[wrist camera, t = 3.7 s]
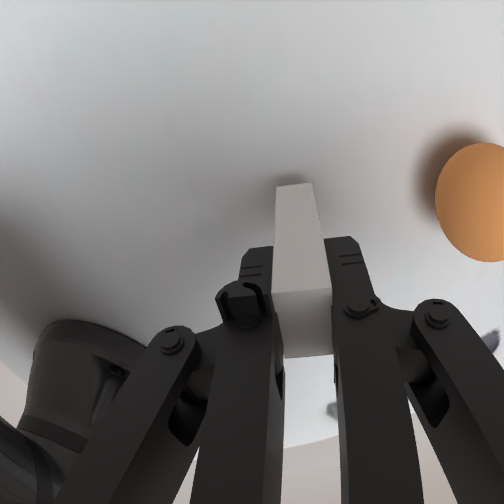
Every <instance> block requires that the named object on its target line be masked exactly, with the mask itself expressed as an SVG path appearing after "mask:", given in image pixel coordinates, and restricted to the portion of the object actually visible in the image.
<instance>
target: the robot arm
mask: <svg viewBox="0 0 504 504" xmlns="http://www.w3.org/2000/svg"><path fill="white" fill-rule="evenodd" d="M240 269H241V270H240V273H239V278H238V280H237V281H233V282H231V283H229V284H227V285H225V286H224V287H223V288H222V289H221V290H220V291H219V292H218V293H217V295H216V297H215V300H216V303H217V306H218V309H219V311H220V314H221V317H222V319H223V323H222V324H220V325H219V326H217V327H215V328H212V329H210V330H207V331H203V332H200V333H197V334H194V333H193V332H192V330H191V329H190V328H187V327H185V326H172V327H168V328H165V329H164V330H162V331H160V332H159V333H158V334H157V335H156V336H155V337H154V338H153V339H152V341H151V342H150V344H149V345H148V347H147V348H144V347H143V346H141V345H139V344H138V343H136V342H134V341H132V340H130V339H128V338H126V337H124V336H122V335H120V334H118V333H116V332H113V331H111V330H108V329H106V328H103V327H100V326H97V325H93V324H90V323H85V322H80V321H69V320H67V321H58V322H54V323H52V324H50V325H49V326H47V327H46V329H45V330H44V332H43V333H42V335H41V337H40V338H39V340H38V342H37V344H36V346H35V348H34V351H33V363H32V367H31V372H30V377H29V383H28V390H27V398H26V405H25V409H24V412H23V414H22V417H21V419H20V421H19V424H18V426H17V428H14V427H13V426H12V425H11V424H9V423H8V422H7V421H6V420H5V419H3V418H2V417H1V416H0V504H172V503H173V501H174V499H175V497H176V495H177V493H178V491H179V488H180V486H181V484H182V482H183V480H184V478H185V476H186V474H187V472H188V469H189V467H190V465H191V463H192V461H193V459H194V457H195V454H196V452H197V450H198V448H199V453H198V458H197V465H196V469H195V475H194V481H193V487H192V492H191V498H190V504H280V502H281V484H282V463H283V438H284V406H285V371H284V366H283V353H284V357H285V359H286V358H298V357H310V356H320V355H330V354H334V383H335V386H336V398H337V412H338V427H339V443H340V466H341V467H340V468H341V504H424V499H423V489H422V481H421V474H420V466H419V459H418V453H417V446H416V441H415V435H414V429H413V424H412V419H411V413H410V408H409V403H408V399H407V397H408V398H409V400H410V402H411V404H412V406H413V408H414V410H415V412H416V414H417V416H418V418H419V420H420V422H421V424H422V426H423V428H424V430H425V432H426V434H427V436H428V439H429V440H430V443H431V445H432V447H433V449H434V451H435V453H436V455H437V458H438V460H439V462H440V464H441V466H442V468H443V471H444V473H445V475H446V477H447V479H448V482H449V484H450V486H451V488H452V491H453V493H454V496H455V498H456V500H457V503H458V504H504V370H503V368H502V367H501V365H500V364H499V362H498V361H497V360H496V358H495V357H494V355H493V354H492V353H491V351H490V350H489V349H488V347H487V346H486V345H485V343H484V342H483V341H482V339H481V338H480V337H479V335H478V334H477V333H476V331H475V330H474V329H473V328H472V326H471V325H470V324H469V322H468V321H467V320H466V319H465V317H464V316H463V315H462V314H461V312H460V311H459V310H458V309H457V308H456V307H455V306H454V305H453V304H451V303H450V302H447V301H445V300H442V299H429V300H425V301H423V302H422V303H420V304H418V306H417V307H416V309H415V310H414V311H407V310H399V309H394V308H391V307H389V306H386V305H385V304H383V303H382V302H381V300H380V299H379V298H378V297H377V296H376V295H375V293H374V290H373V287H372V284H371V281H370V277H369V274H368V271H367V268H366V265H365V263H364V259H363V256H362V253H361V250H360V247H359V244H358V243H357V242H356V241H355V240H354V239H353V238H352V237H350V236H345V237H336V238H327V239H323V235H322V230H321V225H320V220H319V215H318V210H317V205H316V200H315V196H314V191H313V186H312V182H310V183H302V184H294V185H286V186H278V187H276V203H275V227H274V246H267V247H258V248H250V249H249V250H248V251H247V252H246V254H245V255H244V256H243V257H242V261H241V267H240ZM199 446H200V447H199Z"/></svg>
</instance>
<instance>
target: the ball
mask: <svg viewBox="0 0 504 504" xmlns="http://www.w3.org/2000/svg"><path fill="white" fill-rule="evenodd" d="M435 207H436V213H437V217H438V220H439V223H440V226H441V228H442V230H443V232H444V234H445V235H446V237H447V238H448V240H449V241H450V242H451V243H452V245H453V246H454V247H455V248H457V249H458V250H459V251H460V252H461V253H463V254H465V255H466V256H468V257H470V258H472V259H475V260H478V261H483V262H497V261H502V260H504V147H502V146H499V145H496V144H491V143H476V144H472V145H469V146H466V147H464V148H462V149H460V150H459V151H457V152H456V153H455V154H454V155H453V156H452V157H451V158H450V159H449V160H448V161H447V162H446V164H445V165H444V167H443V169H442V171H441V173H440V175H439V178H438V181H437V185H436V191H435Z"/></svg>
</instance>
